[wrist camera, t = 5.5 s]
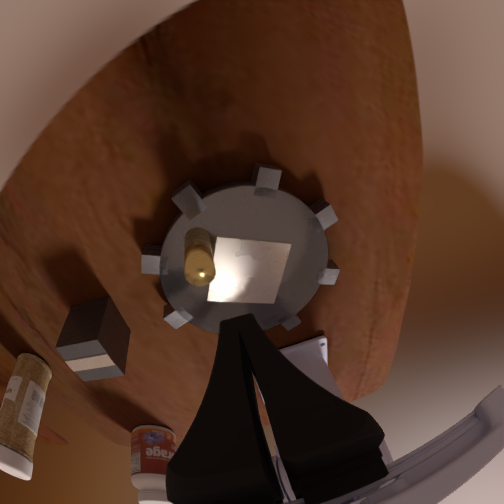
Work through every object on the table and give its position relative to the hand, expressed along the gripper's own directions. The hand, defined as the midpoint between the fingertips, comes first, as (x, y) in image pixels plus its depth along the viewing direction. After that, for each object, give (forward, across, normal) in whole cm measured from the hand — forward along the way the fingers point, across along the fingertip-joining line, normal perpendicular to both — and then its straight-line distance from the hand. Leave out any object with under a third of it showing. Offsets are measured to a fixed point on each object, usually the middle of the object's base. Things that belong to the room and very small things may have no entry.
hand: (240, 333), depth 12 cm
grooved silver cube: (+10, +12, +5) cm, 16 cm away
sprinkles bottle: (+10, +24, +9) cm, 27 cm away
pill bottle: (+10, +16, +26) cm, 32 cm away
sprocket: (+10, -1, +2) cm, 10 cm away
